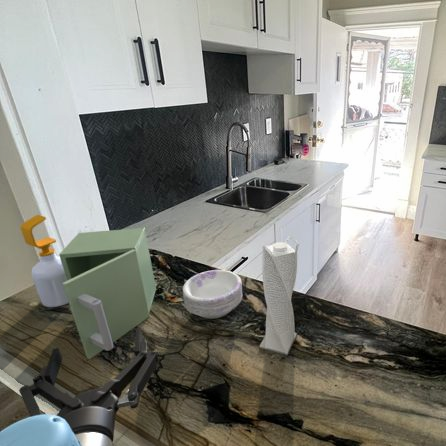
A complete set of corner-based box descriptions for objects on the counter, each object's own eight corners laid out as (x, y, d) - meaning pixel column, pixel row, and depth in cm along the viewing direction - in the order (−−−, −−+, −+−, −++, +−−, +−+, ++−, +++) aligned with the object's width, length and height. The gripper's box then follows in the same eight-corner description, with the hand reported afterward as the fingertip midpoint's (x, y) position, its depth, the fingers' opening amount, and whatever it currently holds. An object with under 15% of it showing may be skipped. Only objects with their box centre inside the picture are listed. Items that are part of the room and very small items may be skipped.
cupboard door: (166, 323, 80) (153, 255, 72) (107, 369, 67) (83, 292, 59) (147, 315, 83) (133, 249, 75) (86, 358, 69) (62, 283, 62)
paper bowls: (213, 285, 96) (210, 263, 93) (253, 301, 89) (252, 277, 86) (173, 314, 83) (169, 289, 80) (217, 334, 77) (214, 308, 74)
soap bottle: (88, 293, 91) (64, 215, 81) (54, 311, 84) (24, 227, 74) (68, 285, 95) (44, 209, 85) (35, 302, 87) (3, 221, 77)
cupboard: (149, 314, 83) (135, 247, 75) (81, 323, 80) (58, 254, 72) (156, 288, 94) (144, 227, 86) (96, 295, 90) (78, 232, 82)
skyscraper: (302, 335, 77) (305, 232, 66) (291, 360, 70) (293, 249, 59) (270, 328, 79) (268, 227, 68) (257, 351, 72) (252, 242, 61)
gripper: (-27, 509, 40) (26, 378, 58) (180, 431, 49) (171, 339, 67) (-52, 473, 37) (12, 347, 55) (174, 398, 46) (166, 311, 64)
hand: (100, 343), depth 61 cm, fingers open, 13 cm apart
